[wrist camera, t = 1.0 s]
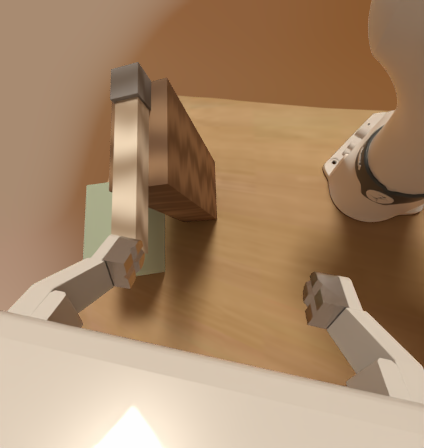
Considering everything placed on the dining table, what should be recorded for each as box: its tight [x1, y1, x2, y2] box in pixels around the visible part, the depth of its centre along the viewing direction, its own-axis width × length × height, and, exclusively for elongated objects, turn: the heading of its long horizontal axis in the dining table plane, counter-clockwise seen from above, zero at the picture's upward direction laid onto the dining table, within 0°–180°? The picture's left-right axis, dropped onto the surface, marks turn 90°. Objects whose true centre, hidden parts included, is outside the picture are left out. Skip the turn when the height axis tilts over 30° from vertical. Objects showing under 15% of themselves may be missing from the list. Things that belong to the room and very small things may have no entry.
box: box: [83, 182, 165, 276], centre depth 47 cm, size 17×8×16 cm, turn 2°
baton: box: [110, 62, 151, 254], centre depth 26 cm, size 22×4×3 cm, turn 2°
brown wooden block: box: [109, 78, 217, 222], centre depth 40 cm, size 14×8×26 cm, turn 2°
